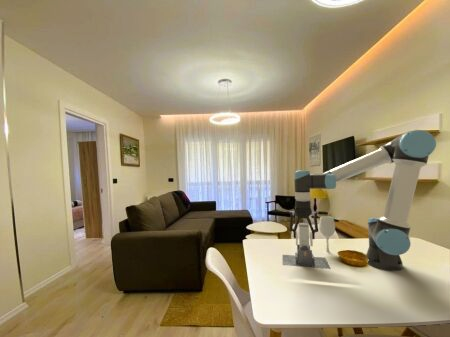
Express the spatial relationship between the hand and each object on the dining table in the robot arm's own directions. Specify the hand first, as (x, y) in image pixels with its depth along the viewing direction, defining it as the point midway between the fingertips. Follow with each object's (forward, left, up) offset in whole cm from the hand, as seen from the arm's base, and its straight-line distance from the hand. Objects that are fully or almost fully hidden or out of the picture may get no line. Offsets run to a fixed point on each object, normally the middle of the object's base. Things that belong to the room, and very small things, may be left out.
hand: (304, 244), depth 113 cm
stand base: (0, 0, -9) cm, 9 cm away
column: (0, 0, -8) cm, 8 cm away
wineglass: (-14, -16, -10) cm, 23 cm away
